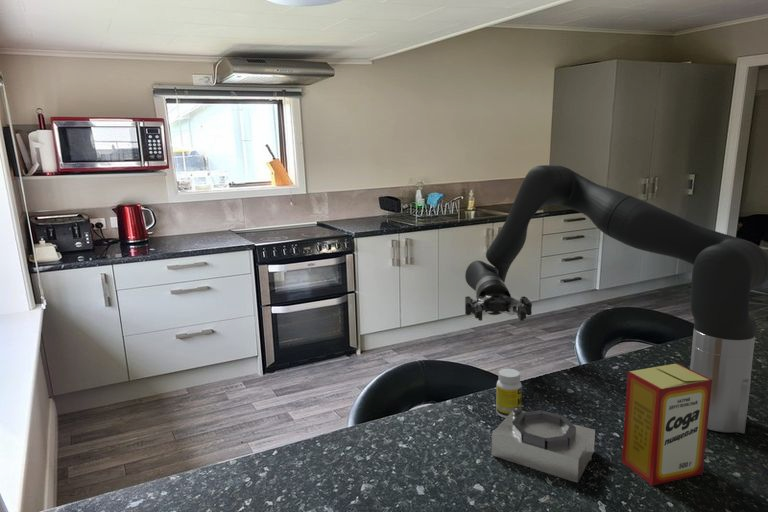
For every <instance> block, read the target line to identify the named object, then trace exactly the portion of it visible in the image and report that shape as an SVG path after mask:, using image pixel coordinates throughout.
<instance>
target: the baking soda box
mask: <svg viewBox="0 0 768 512" xmlns="http://www.w3.org/2000/svg"><path fill="white" fill-rule="evenodd" d="M626 378H627V380H626V392H625V393H626V394H625V395H626V396H625V408H624V410H625V411H624V422H623V423H624V424H623V425H624V426H623V440H622V453H621V455H622V457H621V463H623V464H624V465H625V466H627V467H628V468H629V469H630V470H632V471H633V472H634V473H635V474H637V476H639V477H641V478H642V479H643V480H645V482H647V483H648V484H649V485H651V486H652V487H654V486H656V485H661V484H666V483H669V482H674V481H678V480H681V479H682V480H683V479H686V478H687V479H688V478H690V477H694V476H695V477H696V476H698V475H704V465H705V455H706V445H707V435H708V429H707V427H708V417H709V407H710V397H711V387H712V380H711V379H709V378H707V377H705V376H703V375H701V374H699V373H697V372H695V371H692V370H690V368H688V367H686V366H683V365H682V364H680V363H670V364H666V365H659V366H658V365H657V366H653V367H649V368H648V367H647V368H642V369H641V368H640V369H636V370H630V371H629V370H628V371H627V377H626Z"/></svg>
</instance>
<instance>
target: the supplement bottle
mask: <svg viewBox="0 0 768 512" xmlns="http://www.w3.org/2000/svg"><path fill="white" fill-rule="evenodd" d="M522 393H523V384H522V383H521V372H520V371H518V370H517V369H513V368H503V369H501V370H499V371H498V380H497V381H496V400H495V401H496V404H495V405H496V406H495V412H496V414H497V415H498V416H500V417H501V418H503V419H505V418H506V417H507V416H508V415H509V414H510V413H511V412H512V411H513V407H521V408H522Z"/></svg>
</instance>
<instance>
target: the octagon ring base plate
mask: <svg viewBox="0 0 768 512" xmlns="http://www.w3.org/2000/svg"><path fill="white" fill-rule="evenodd" d="M595 438H596V429H592V428H590V427H585V426H582V425H578V424H574V423H572V422H571V421H570V419H568V418H567V417H566V416H564V415H563V414H559V413H553V412H550V411H545V410H541V409H540V410H533V411H524V410H523V407H522V406H521V407H513V411H512V412H511V413H510V414H509V415H508V416H507V417H506V418H504V419H503V420H502V422H501V423H499V425H498V426H497V427H496V428H495V429H494V430H493V432H491V456H493V457H496V458H499V459H502V460H504V461H508V462H511V463H515V464H517V465H520V466H523V467H527V468H529V467H530V469H532V470H536V471H539V472H543V473H545V474H548V475H551V476H554V477H557V478H561V479H564V480H566V481H567V480H568V481H570V482H573V483H576V484H578V483H579V481H580V479H581V477H582V476H583V474H584V471H585V470H586V468H587V466H588V464H589V462H590V460H591V458H592V456H593V454H594V452H595Z"/></svg>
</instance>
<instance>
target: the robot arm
mask: <svg viewBox="0 0 768 512" xmlns="http://www.w3.org/2000/svg"><path fill="white" fill-rule="evenodd" d="M543 206H561V207H564V208H569V209H571V210H574V211H576V212H579V213H581V214H583V215H585V216H586V217H587V218H589V219H590V221H591V222H592V223H593V224H594V225H595V227H596V228H597V229H598V230H599V231H601V232H602V233H603V234H605V235H606V236H608V237H610V238H612V239H614V240H616V241H618V242H620V243H622V244H624V245H626V246H629V247H631V248H634V249H637V250H641V251H645V252H649V253H652V254H657V255H662V256H668V257H672V258H675V259H679V260H682V261H684V262H686V263H688V264H691V265H692V266H693V267H692V272H691V289H690V290H691V292H690V293H691V294H690V311H691V314H692V317H693V321H694V322H693V332H692V334H693V335H692V343H691V356H690V367H689V369H690V370H692V371H695V372H697V373H699V374H701V375H703V376H705V377H707V378H709V379H711V380H712V387H711V397H710V407H709V417H708V427H707V430H710V431H714V432H720V433H738V434H739V433H740V434H746V433H745V432H746V424H747V417H748V410H749V409H748V406H749V399H750V392H751V391H750V390H751V382H752V381H751V377H752V366H753V359H754V358H753V357H754V351H755V350H754V349H755V341H756V334H757V333H756V332H757V321H756V319H755V317H753V316H752V315H750V313H749V310H750V309H749V308H750V296H751V295H750V293H751V291H753V290H756V289H757V288H759V287H762V286H763V285H764V284H765V283H767V282H768V254H767V252H766V251H765V250H764V249H763V248H762V247H760V246H759V245H758V244H756V243H755V242H752V241H750V240H747V239H743V238H739V237H736V236H733V235H729V234H727V233H726V234H725V233H724V232H723V233H722V232H720V231H715V230H712V229H710V228H707V227H704V226H701V225H698V224H696V223H693V222H691V221H690V220H687V219H685V218H683V217H680V216H679V215H677V214H674V213H672V212H670V211H668V210H665V209H662V208H660V207H658V206H656V205H653V204H652V203H649V202H647V201H644V200H643V199H640V198H637V197H635V196H632V195H630V194H627V193H624V192H622V191H618V190H616V189H613V188H610V187H607V186H603V185H600V184H597V183H596V182H594V181H592V180H590V179H588V178H587V177H584V176H582V175H580V174H579V173H577V172H575V171H574V170H572V169H570V168H568V167H566V166H564V165H563V166H562V165H553V164H552V165H551V164H549V165H547V164H544V165H537V166H534V167H532V168H531V169H530V170H529V171H528V172H527V174H526V175H525V177H524V179H522V183H521V184H520V187H519V190H518V192H517V195H516V197H515V199H514V201H513V203H512V206H511V208H510V210H509V213H508V215H507V217H506V220H505V221H504V223H503V225H502V227H501V229H500V231H499V232H498V233H497V235H496V236H495V238H494V239H493V241H492V243H491V244H490V245H489V247H488V249H487V250H486V253H485V258H486V260H487V261H488V262H489V264H488V263H486V262H484V261H483V260H474V261H472V262H471V263H470V264H468V266H467V268H466V270H465V275H464V276H465V282H466V284H467V285H468V286H469V287H470V288H471V289H472V290H474V291H475V299H473V297H471V296H467V295H466V296H465V297H464V298H465V299H464V302H465V303H464V305H465V306H464V311H465V315H466V316H471V315H472V314H473V316H474V318H475V319H478V321H483V316H486V315H491V316H498V315H501V314H507V315H509V316H515V315H516V316H517V318H518V319H519V321H520V322H524V320H526V319H527V316H532V314H533V313H532V306H533V303H532V302H531V301H530V299H529V298H528V297H527V296H524V295H523V296H521V297H520V299H516V298H514V297H512V296H511V293H510V290H509V289H508V288H507V285H506V284H505V282H506V278H507V275H508V272H509V269H510V267H511V265H512V264H513V262H514V261H515V259H516V258H517V256H518V255H519V254H520V252H521V251H522V249H523V247H524V245H525V242H526V239H527V235H528V229H529V228H528V227H529V224H530V222H531V220H532V218H533V217H534V215H536V213H537V212H538V211H539V210H540V209H541V208H542V207H543Z"/></svg>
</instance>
